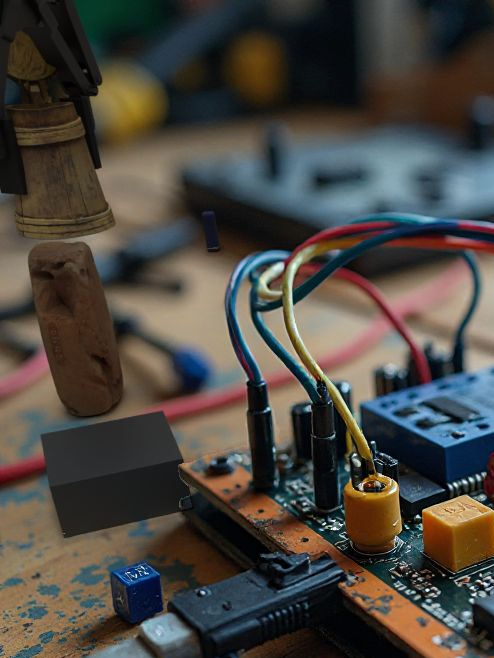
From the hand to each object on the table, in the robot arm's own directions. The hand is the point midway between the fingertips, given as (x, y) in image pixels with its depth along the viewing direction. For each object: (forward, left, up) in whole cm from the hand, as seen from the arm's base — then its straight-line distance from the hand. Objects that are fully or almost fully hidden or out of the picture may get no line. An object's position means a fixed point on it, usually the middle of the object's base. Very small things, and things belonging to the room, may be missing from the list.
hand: (53, 179), depth 102 cm
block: (-18, +16, -33) cm, 41 cm away
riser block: (+1, -3, -33) cm, 33 cm away
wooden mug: (0, 0, -4) cm, 4 cm away
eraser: (-41, +77, -33) cm, 93 cm away
